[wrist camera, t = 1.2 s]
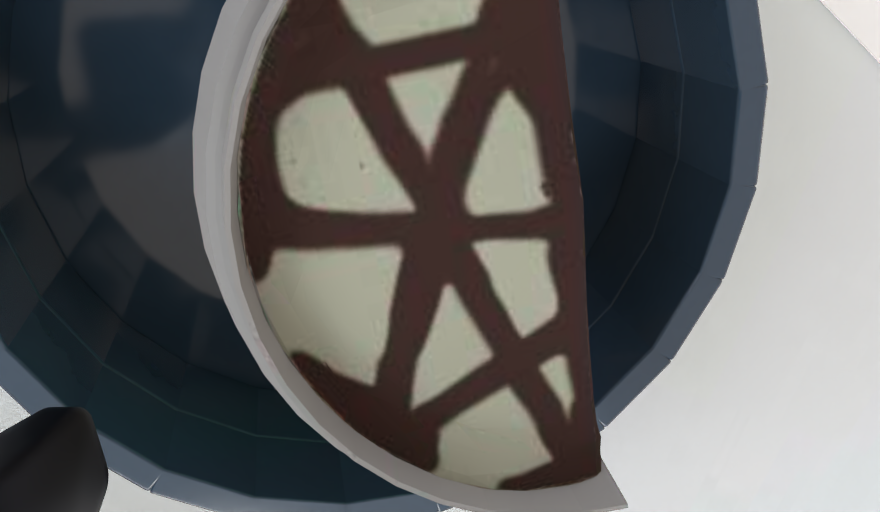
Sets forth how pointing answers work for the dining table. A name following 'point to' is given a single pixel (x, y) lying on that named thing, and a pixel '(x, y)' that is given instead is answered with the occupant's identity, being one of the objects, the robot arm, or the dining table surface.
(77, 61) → the pot
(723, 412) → the dining table surface
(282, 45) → the food container
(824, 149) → the dining table surface
